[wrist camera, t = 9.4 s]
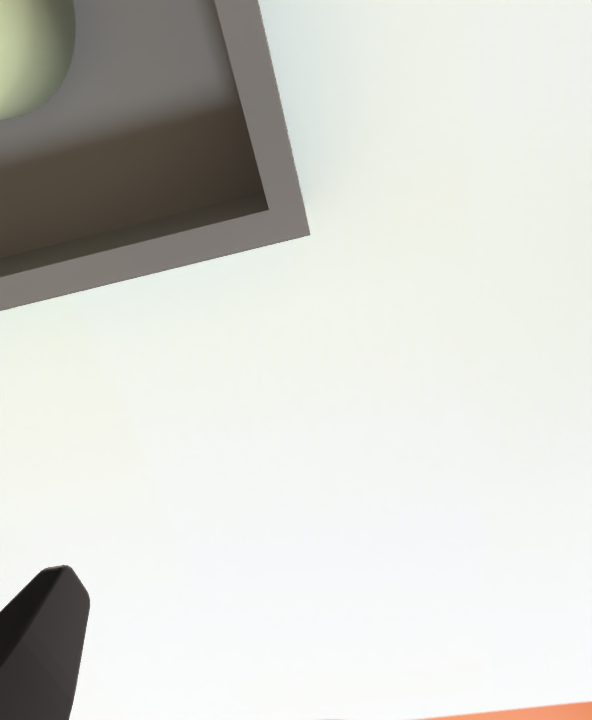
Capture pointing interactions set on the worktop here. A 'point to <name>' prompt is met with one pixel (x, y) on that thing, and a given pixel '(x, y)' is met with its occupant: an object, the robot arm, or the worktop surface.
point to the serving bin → (147, 151)
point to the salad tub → (33, 52)
